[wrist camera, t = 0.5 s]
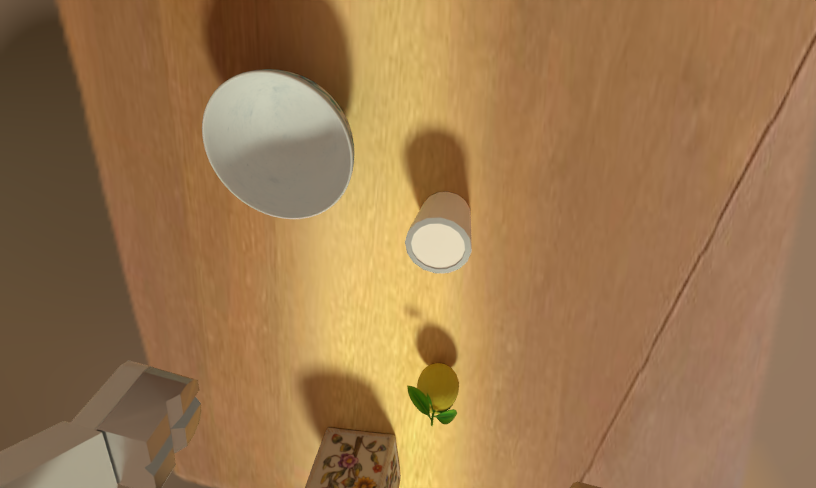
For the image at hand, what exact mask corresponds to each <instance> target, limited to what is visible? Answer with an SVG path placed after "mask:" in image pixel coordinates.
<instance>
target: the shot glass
mask: <svg viewBox="0 0 816 488" xmlns="http://www.w3.org/2000/svg"><path fill="white" fill-rule="evenodd" d="M405 244H406V250H407V253H408V255H409V256H410V258H411V259H412V261H413V262H414V263H415V264H416V265H418V266H419V267H421V268H422V269H423V270H427V271H430V272H433V273H450V272H452V271H455V270H458V269H460V268H461V267H462V266H463V265H464V264H465V263H466V262H467V261H468V259H469V256H470V253H471V214H470V208H469V206H468V204H467V203H466V201H465V200H464V199H463V198H461V197H460V196H459V195H457V194H454V193H451V192H438V193H435V194H433V195H431V196H429V197H428V199H427V200H426V201H425V202H424V203H423V205H422V207H421V209H420V211H419V212H418V214H417V216H416V218H415V220H414V222H413V223H412V225H411V227H410V229H409V231H408V234H407V237H406V241H405Z"/></svg>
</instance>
